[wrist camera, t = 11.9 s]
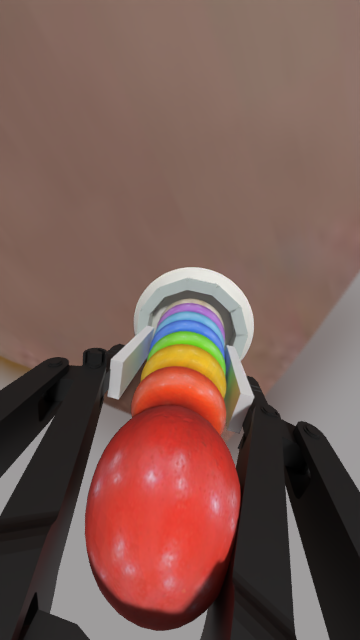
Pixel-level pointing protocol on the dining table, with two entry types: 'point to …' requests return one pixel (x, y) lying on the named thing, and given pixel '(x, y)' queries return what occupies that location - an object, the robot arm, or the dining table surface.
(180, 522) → the stacking toy
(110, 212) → the dining table surface
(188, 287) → the collar base
